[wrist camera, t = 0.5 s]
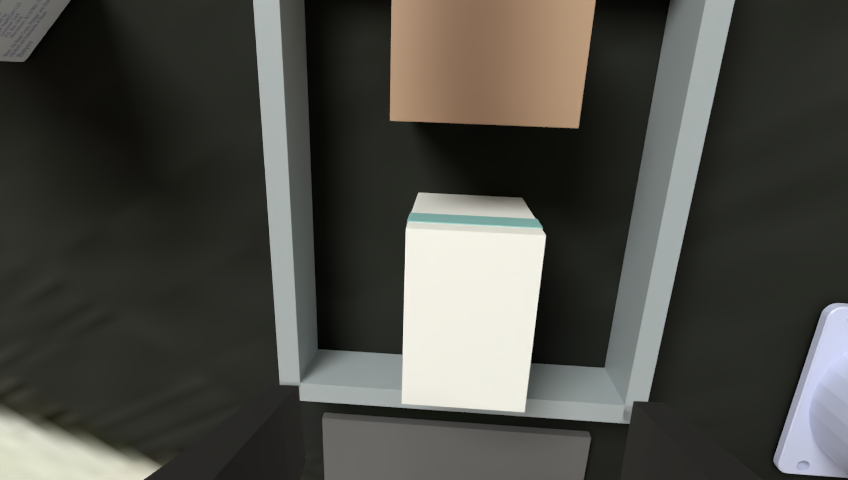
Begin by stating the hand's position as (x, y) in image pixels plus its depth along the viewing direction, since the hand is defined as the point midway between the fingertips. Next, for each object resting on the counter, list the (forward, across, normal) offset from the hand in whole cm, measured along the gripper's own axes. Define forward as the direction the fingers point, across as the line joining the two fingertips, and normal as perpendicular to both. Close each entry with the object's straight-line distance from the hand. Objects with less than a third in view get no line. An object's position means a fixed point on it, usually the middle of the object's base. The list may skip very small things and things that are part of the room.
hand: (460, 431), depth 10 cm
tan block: (+9, 0, -8) cm, 12 cm away
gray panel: (+9, 0, +12) cm, 15 cm away
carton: (+10, 0, 0) cm, 10 cm away
